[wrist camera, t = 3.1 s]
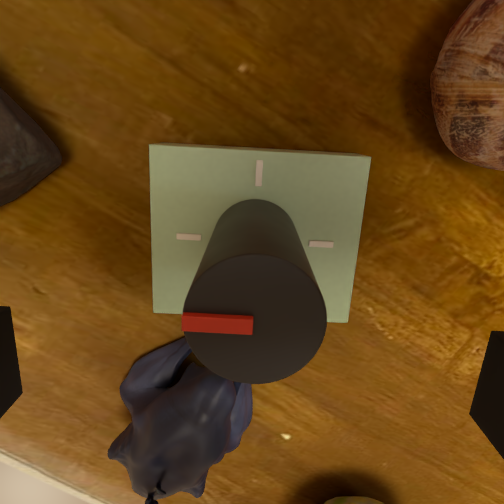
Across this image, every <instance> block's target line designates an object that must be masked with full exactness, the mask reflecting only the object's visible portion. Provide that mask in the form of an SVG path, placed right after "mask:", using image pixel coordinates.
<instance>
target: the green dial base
mask: <svg viewBox="0 0 504 504" xmlns="http://www.w3.org/2000/svg"><path fill="white" fill-rule="evenodd" d="M370 163H371V157H369V156H365V155H361V154H357V153H340V152H322V151H305V150H287V149H269V148H252V147H234V146H216V145H199V144H181V143H163V142H162V143H155V144H149V169H150V209H151V249H152V289H153V312H154V313H170V314H182V313H183V306H184V302H185V299H186V296H187V294H188V291H189V289H190V286H191V284H192V281H193V279H194V277H195V274H196V272H197V269H198V267H199V265H200V262H201V260H202V257H203V255H204V253H205V250H206V248H207V245H208V243H209V241H210V238H211V236H212V233H213V231H214V228H215V226H216V224H217V222H218V220H219V218H220V217H221V215H222V214H223V213H224V212H225V211H226V210H227V209H228V208H229V207H231V206H232V205H234V204H236V203H238V202H241V201H244V200H249V199H261V200H266V201H269V202H272V203H274V204H276V205H278V206H279V207H281V208H282V209H283V210H284V211H285V212H286V213H287V214H288V215H289V216H290V218H291V219H292V221H293V223H294V226H295V228H296V231H297V233H298V236H299V238H300V241H301V243H302V246H303V248H304V251H305V253H306V256H307V258H308V261H309V263H310V266H311V268H312V271H313V273H314V276H315V278H316V281H317V283H318V286H319V288H320V291H321V293H322V296H323V298H324V301H325V305H326V311H327V322H339V323H347V322H348V316H349V309H350V302H351V295H352V288H353V281H354V274H355V267H356V260H357V253H358V246H359V239H360V232H361V225H362V218H363V211H364V204H365V197H366V190H367V184H368V177H369V170H370Z"/></svg>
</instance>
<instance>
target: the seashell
mask: <svg viewBox="0 0 504 504" xmlns="http://www.w3.org/2000/svg"><path fill="white" fill-rule="evenodd" d="M430 83H431V85H430V88H431V91H432V95H431V102H432V106H433V112H434V117H435V122H436V126H437V129H438V131H439V134H440V136H441V138H442V140H443V141H444V143H445V145H446V146H447V147H448V148H449V149H450V150H451V151H452V152H453V154H454V155H455V156H457V157H459V158H461V159H463V160H464V161H466V162H469V163H472V164H475V165H477V166H481V167H485V168H490V169H496V170H504V0H473V1H472V2H471V3H470V4H469V5H468V6H467V8H466V9H465V10H464V11H463V13H462V14H461V15H460V16H459V17H458V19H457V20H456V21H455V23H454V24H453V25H452V27H451V28H450V30H449V33H448V35H447V37H446V39H445V41H444V43H443V47H442V49H441V51H440V53H439V56H438V60H437V63H436V65H435V68H434V71H433V72H432V73H431V77H430Z"/></svg>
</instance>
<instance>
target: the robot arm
mask: <svg viewBox="0 0 504 504" xmlns="http://www.w3.org/2000/svg"><path fill="white" fill-rule="evenodd" d="M22 393H23V392H22V385H21V378H20V371H19V364H18V357H17V350H16V343H15V336H14V330H13V323H12V316H11V309H10V307H7V306H0V418H1V417H2V416H3V415H4V414H5V412H6V411H7V410H8V409H9V408H10V407H11V406H12V404H13V403H14V402H15V401H16V400H17V399H18V398H19V396H20V395H21V394H22ZM469 414H470V416H471V417H472V418H473V420H474V421H475V422H476V424H477V425H478V426H479V427H480V429H481V430H482V431H483V433H484V434H485V435H486V437H487V438H488V439H489V441H490V442H491V443H492V445H493V446H494V447H495V449H496V450H497V451H498V452H499V454H500V455H501V456H502V458H503V459H504V331H491V334H490V338H489V342H488V346H487V349H486V353H485V357H484V361H483V364H482V368H481V372H480V376H479V379H478V383H477V387H476V390H475V394H474V398H473V402H472V405H471V409H470V413H469Z"/></svg>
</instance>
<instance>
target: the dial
mask: <svg viewBox="0 0 504 504" xmlns="http://www.w3.org/2000/svg"><path fill="white" fill-rule="evenodd" d="M326 327H327V311H326V305H325V301H324V298H323V296H322V293H321V291H320V288H319V286H318V283H317V281H316V278H315V276H314V273H313V271H312V268H311V266H310V263H309V261H308V258H307V256H306V253H305V251H304V248H303V246H302V243H301V241H300V238H299V236H298V233H297V231H296V228H295V226H294V223H293V221H292V219H291V218H290V216H289V215H288V214H287V213H286V212H285V211H284V210H283V209H282V208H281V207H279V206H278V205H276V204H274V203H272V202H269V201H266V200H261V199H249V200H244V201H241V202H238V203H236V204H234V205H232V206H231V207H229V208H228V209H227V210H226V211H225V212H224V213H223V214H222V215H221V217H220V218H219V220H218V222H217V224H216V226H215V228H214V231H213V233H212V236H211V238H210V241H209V243H208V245H207V248H206V250H205V253H204V255H203V257H202V260H201V262H200V265H199V267H198V269H197V272H196V274H195V277H194V279H193V281H192V284H191V286H190V289H189V291H188V294H187V296H186V299H185V302H184V306H183V313H182V331H184V335H185V337H186V340H187V343H188V345H189V347H190V348H191V350H192V352H193V353H194V355H195V356H196V357H197V359H198V360H199V361H200V362H201V363H202V364H203V365H204V366H206V367H207V368H208V369H209V370H211V371H212V372H214V373H216V374H217V375H219V376H221V377H223V378H226V379H229V380H232V381H235V382H240V383H246V384H263V383H270V382H274V381H278V380H281V379H284V378H286V377H288V376H290V375H292V374H294V373H296V372H297V371H299V370H300V369H301V368H303V367H304V366H305V365H306V364H307V363H308V362H309V361H310V360H311V359H312V358H313V357H314V355H315V354H316V352H317V351H318V349H319V347H320V345H321V343H322V341H323V338H324V336H325V332H326Z"/></svg>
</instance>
